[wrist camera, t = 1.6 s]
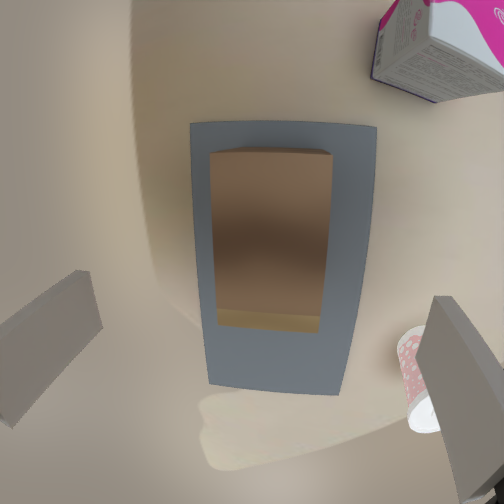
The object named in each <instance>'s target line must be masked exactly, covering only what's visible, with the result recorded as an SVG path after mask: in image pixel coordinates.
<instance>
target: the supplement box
mask: <svg viewBox="0 0 504 504" xmlns="http://www.w3.org/2000/svg"><path fill="white" fill-rule="evenodd" d="M371 79H373V80H376V81H378V82H381V83H384V84H388V85H390V86H393V87H396V88H399V89H401V90H404V91H406V92H409V93H412V94H414V95H416V96H419V97H421V98H424V99H426V100H428V101H431V102H433V103H438V102H443V101H447V100H452V99H457V98H463V97H469V96H474V95H480V94H487V93H493V92H500V91H504V0H395V2H394V3H393V5H392V6H391V7H390V8H389V10H388V11H387V13H386V14H385V15H384V17H383V18H382V19H381V20H380V24H379V29H378V35H377V42H376V47H375V53H374V60H373V66H372V72H371Z"/></svg>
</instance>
